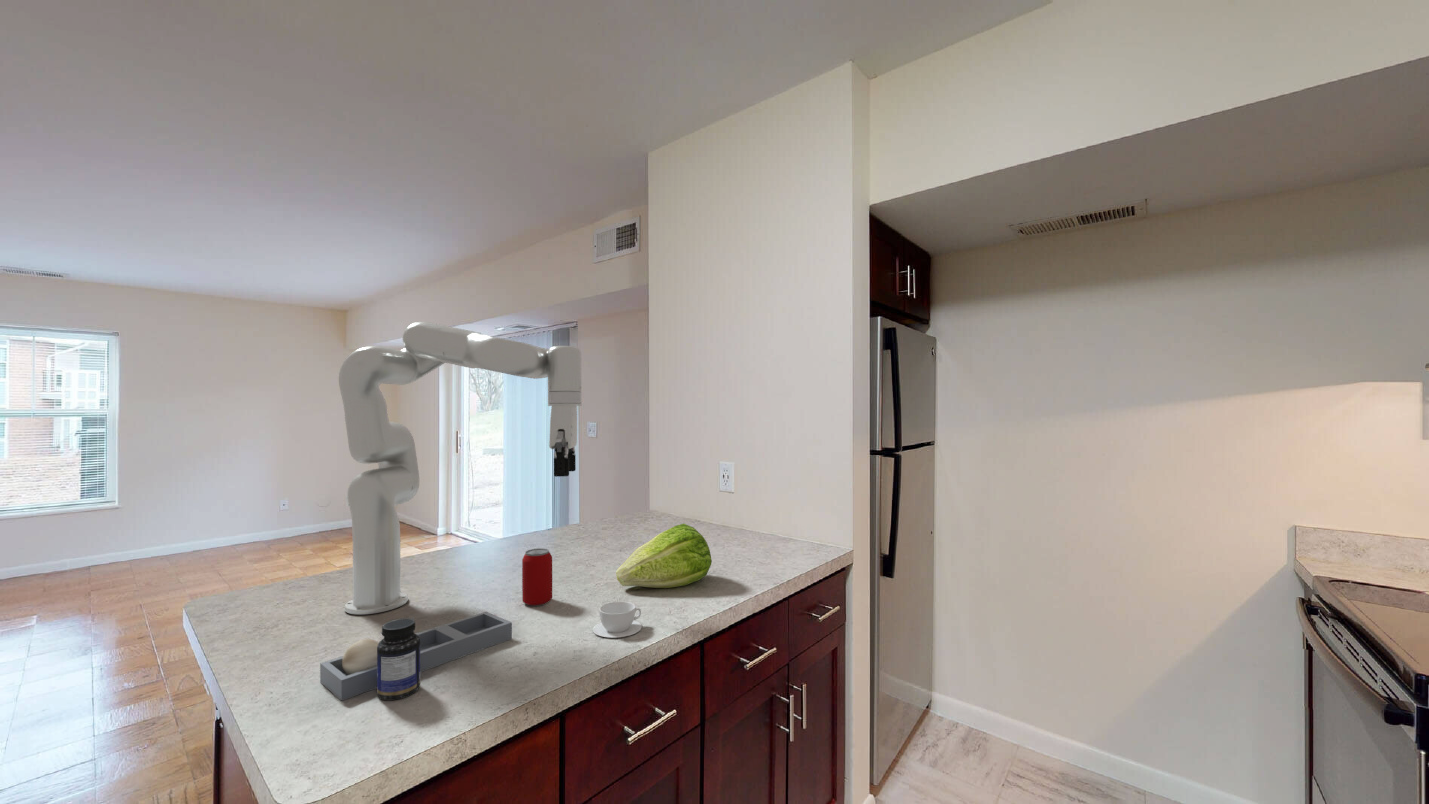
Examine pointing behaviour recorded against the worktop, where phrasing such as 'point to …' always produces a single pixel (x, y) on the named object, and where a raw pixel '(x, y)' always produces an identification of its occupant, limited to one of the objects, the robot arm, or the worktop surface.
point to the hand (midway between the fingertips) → (565, 473)
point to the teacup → (618, 620)
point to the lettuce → (667, 560)
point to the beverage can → (537, 577)
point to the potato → (360, 656)
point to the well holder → (424, 651)
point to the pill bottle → (398, 660)
